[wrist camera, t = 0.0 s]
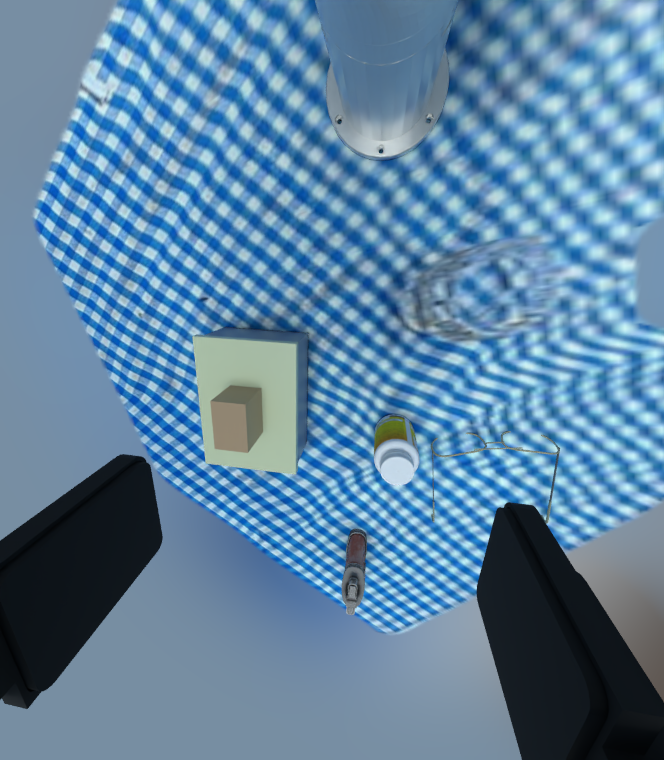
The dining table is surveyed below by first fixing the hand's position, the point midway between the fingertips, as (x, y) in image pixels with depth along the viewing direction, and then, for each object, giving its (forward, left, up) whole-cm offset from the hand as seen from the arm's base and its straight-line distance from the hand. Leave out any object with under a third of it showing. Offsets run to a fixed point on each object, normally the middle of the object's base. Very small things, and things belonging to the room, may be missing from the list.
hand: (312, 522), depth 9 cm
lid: (+11, -14, -31) cm, 36 cm away
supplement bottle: (+16, +5, -37) cm, 41 cm away
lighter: (+39, +1, -37) cm, 54 cm away
